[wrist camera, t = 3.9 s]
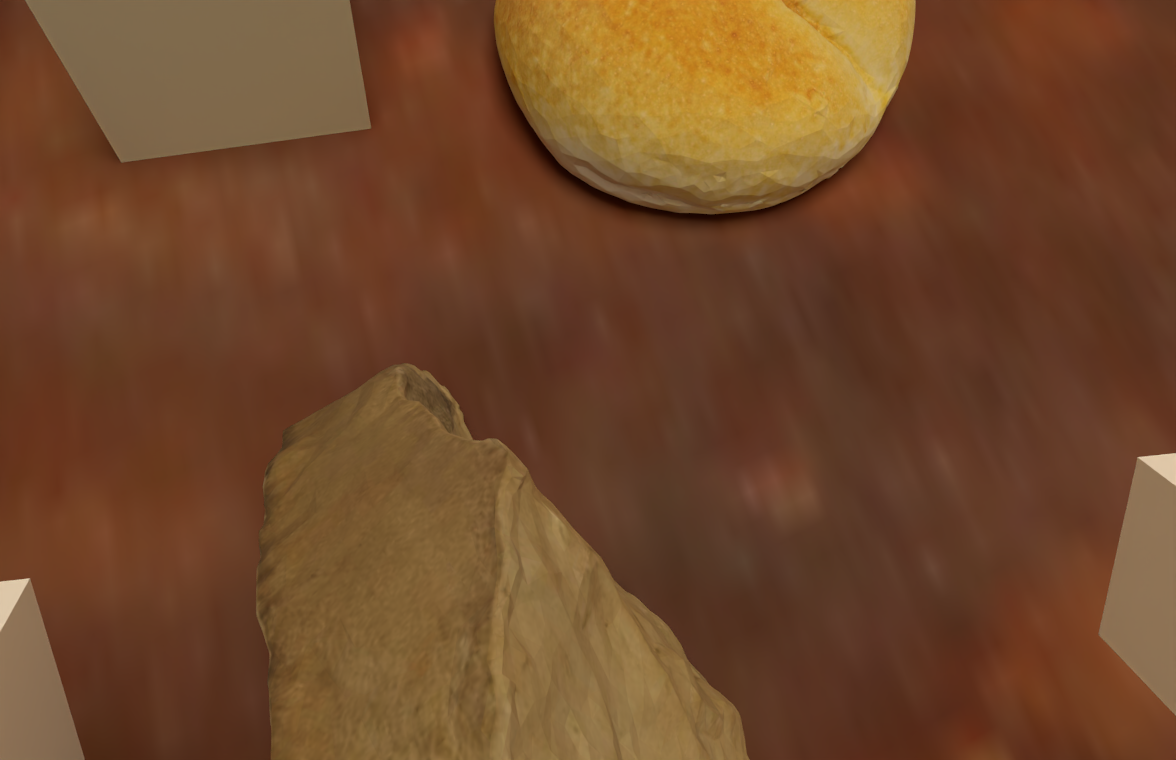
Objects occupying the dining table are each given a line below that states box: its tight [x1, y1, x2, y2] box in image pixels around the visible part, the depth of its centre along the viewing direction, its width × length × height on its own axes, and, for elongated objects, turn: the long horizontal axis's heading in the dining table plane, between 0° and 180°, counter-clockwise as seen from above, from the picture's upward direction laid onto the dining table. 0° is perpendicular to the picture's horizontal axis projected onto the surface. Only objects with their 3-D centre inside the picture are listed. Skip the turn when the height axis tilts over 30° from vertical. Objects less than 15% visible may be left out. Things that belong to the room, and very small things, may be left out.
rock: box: [256, 363, 749, 760], centre depth 16 cm, size 11×9×10 cm
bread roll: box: [494, 0, 915, 214], centre depth 21 cm, size 8×9×4 cm
